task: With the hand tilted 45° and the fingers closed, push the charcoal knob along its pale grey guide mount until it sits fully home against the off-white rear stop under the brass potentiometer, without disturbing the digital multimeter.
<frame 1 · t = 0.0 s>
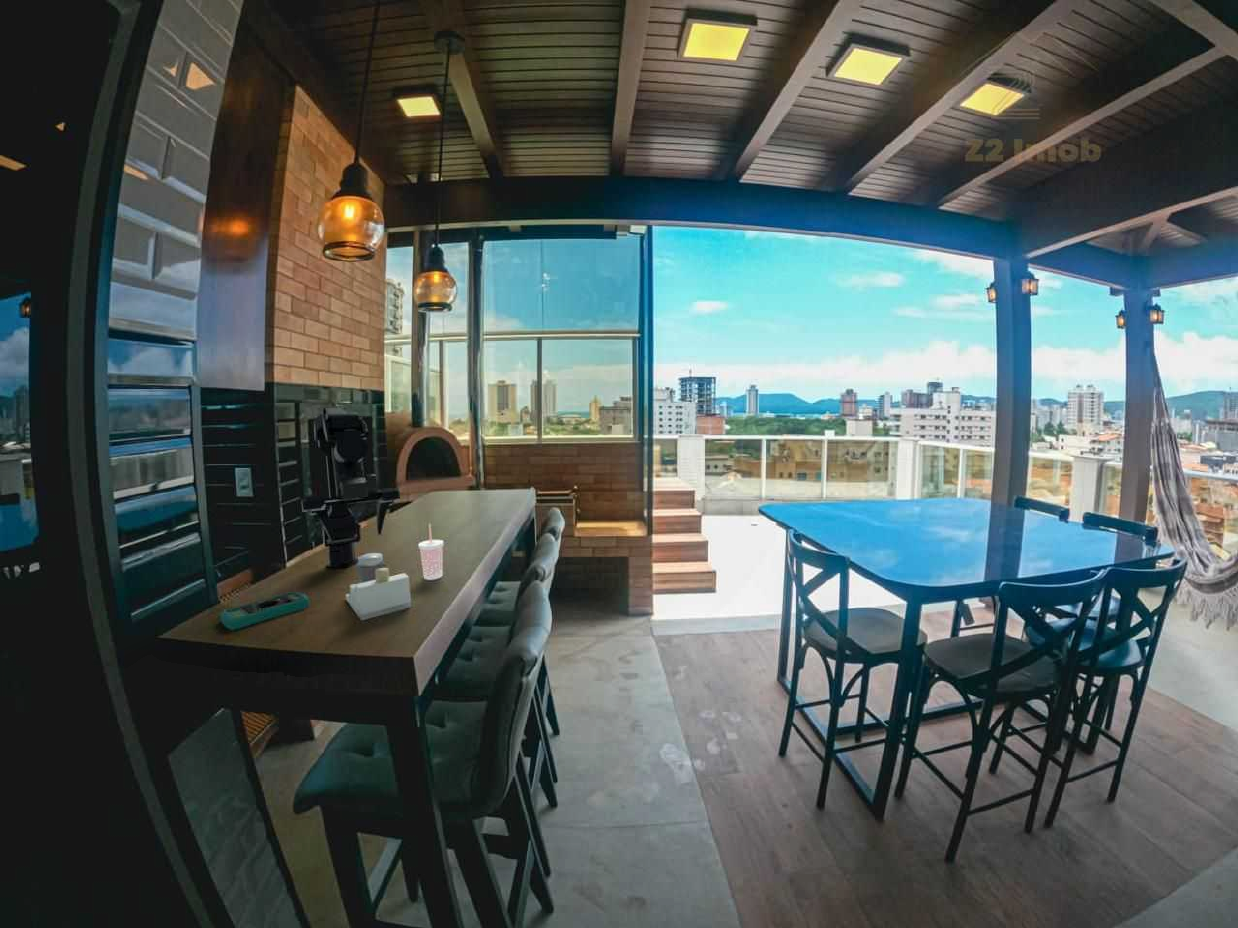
hand: (356, 538, 108), 15 cm above the counter, tool pointing down, fingers open, 9 cm apart
knob mount: (379, 605, 110), on the counter
knob: (371, 574, 113), point 6 cm above the counter, slide at 5.0 cm
beverage cup: (433, 577, 128), on the counter
digital multimeter: (266, 616, 106), on the counter
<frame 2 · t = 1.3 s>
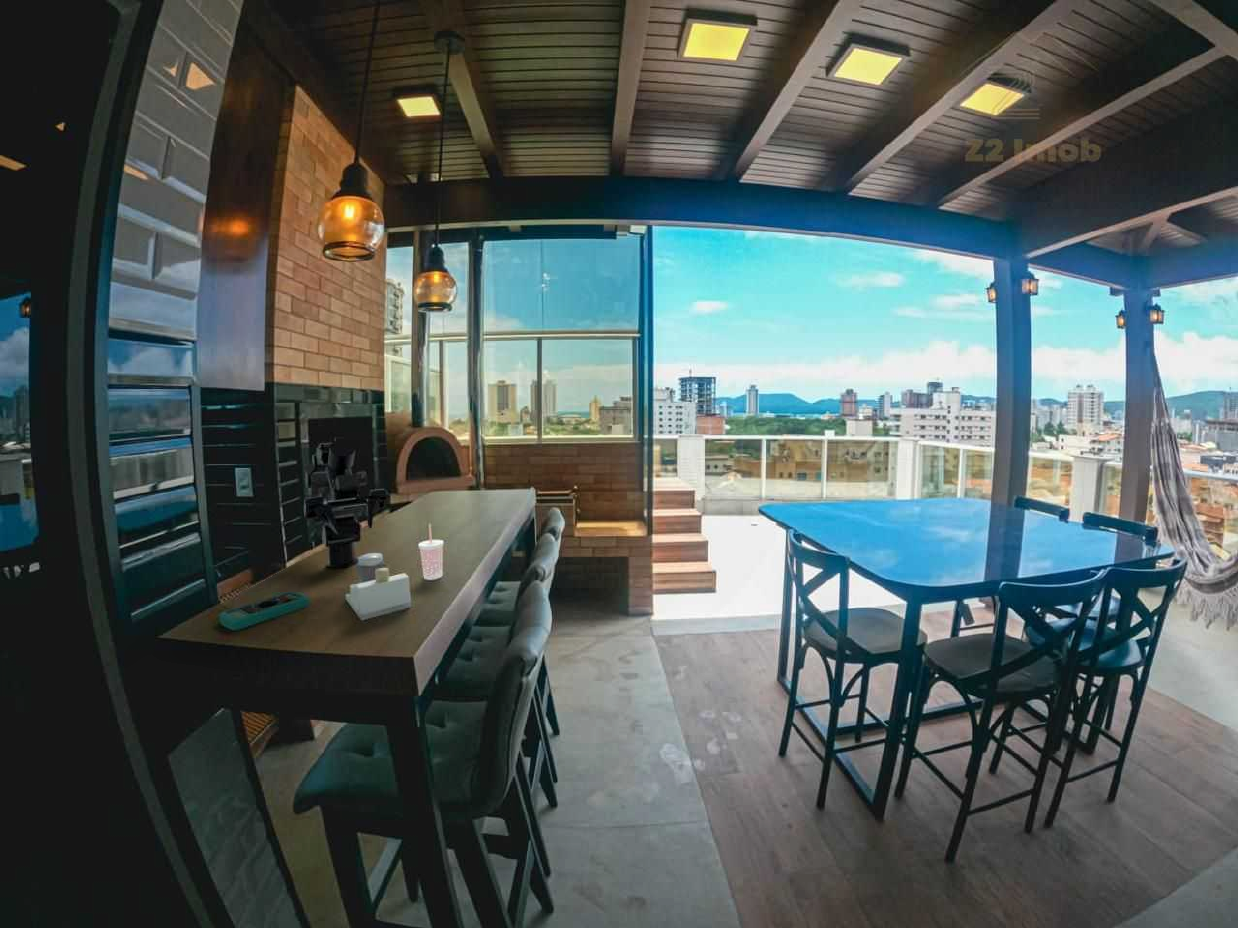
hand: (354, 530, 123), 13 cm above the counter, tool tilted 45°, fingers open, 7 cm apart
nothing on the counter moved.
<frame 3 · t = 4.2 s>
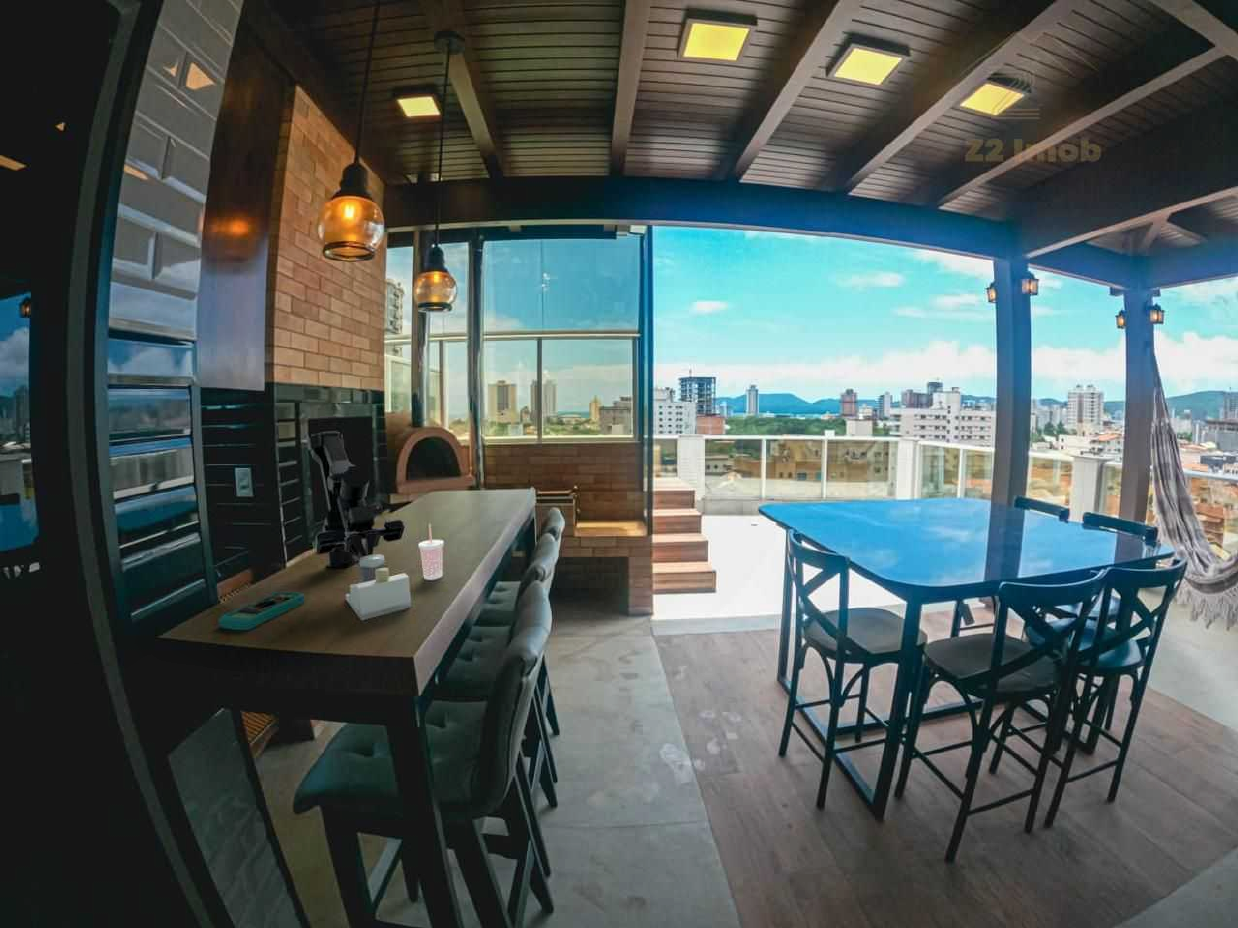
hand: (369, 566, 114), 7 cm above the counter, tool tilted 45°, fingers closed, pressing on knob
knob: (373, 575, 112), point 6 cm above the counter, slide at 3.7 cm, touching gripper
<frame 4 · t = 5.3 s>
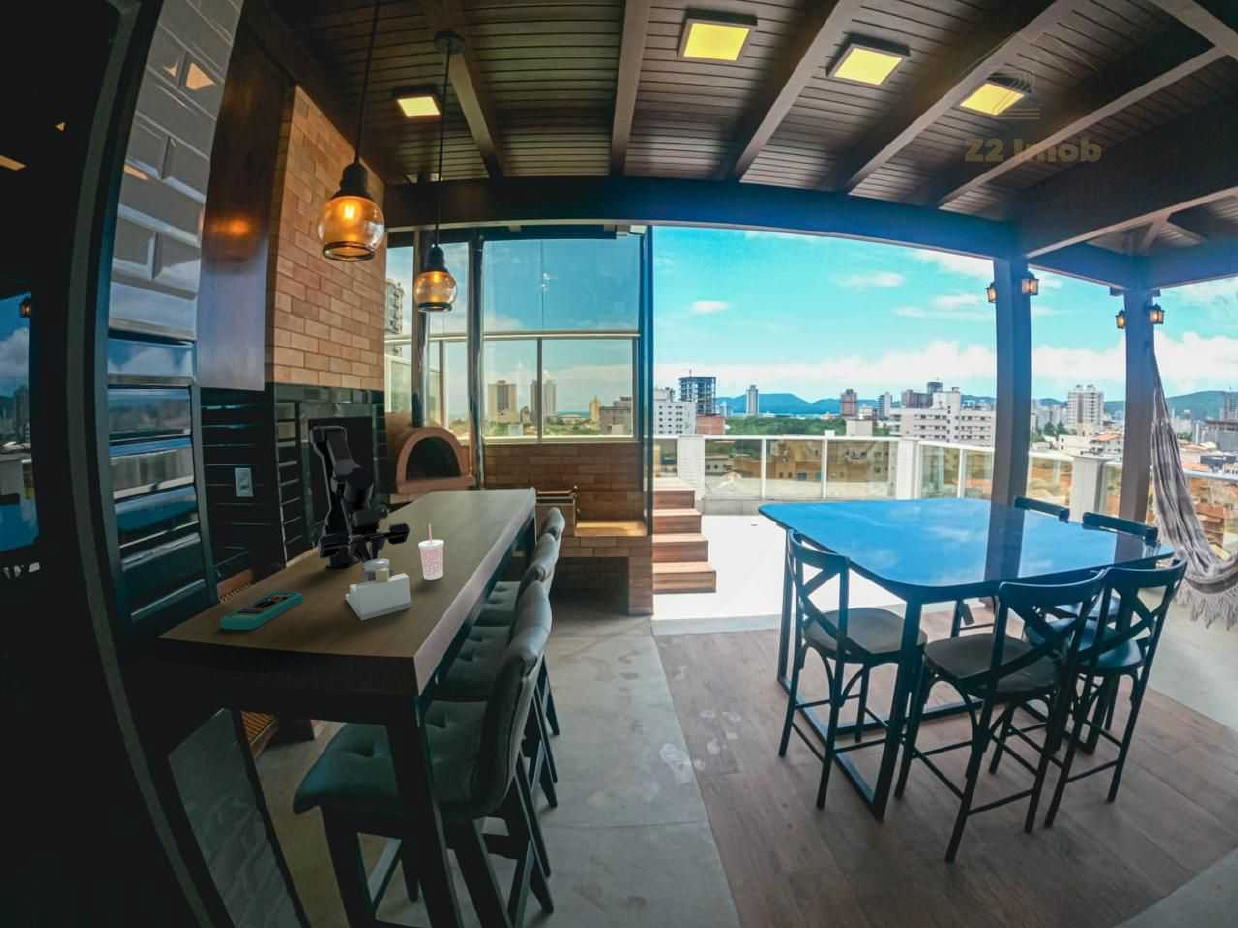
hand: (374, 570, 111), 7 cm above the counter, tool tilted 45°, fingers closed, pressing on knob
knob: (378, 580, 109), point 6 cm above the counter, slide at -0.3 cm, touching gripper, knob mount
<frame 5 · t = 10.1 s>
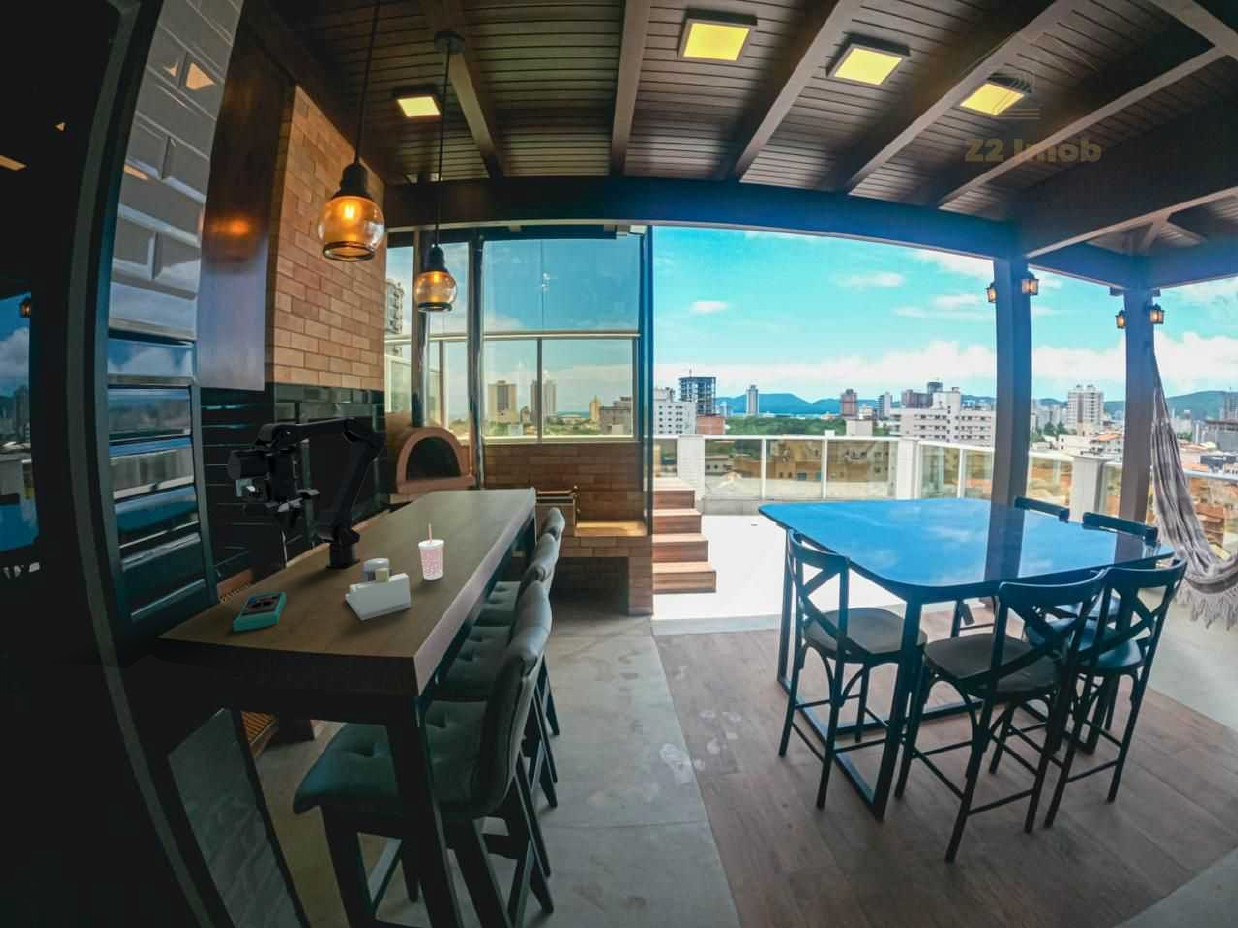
hand: (287, 535, 124), 12 cm above the counter, tool pointing down, fingers closed
knob: (377, 580, 109), point 6 cm above the counter, slide at -0.1 cm
at the end: knob slide at -0.1 cm; digital multimeter moved 1.0 cm from its start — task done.
